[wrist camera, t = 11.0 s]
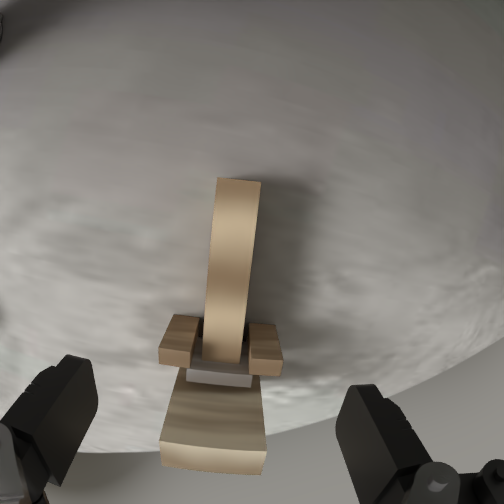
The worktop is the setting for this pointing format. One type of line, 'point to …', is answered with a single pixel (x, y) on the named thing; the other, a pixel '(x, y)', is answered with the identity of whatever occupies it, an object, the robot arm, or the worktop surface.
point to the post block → (216, 405)
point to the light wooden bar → (227, 287)
